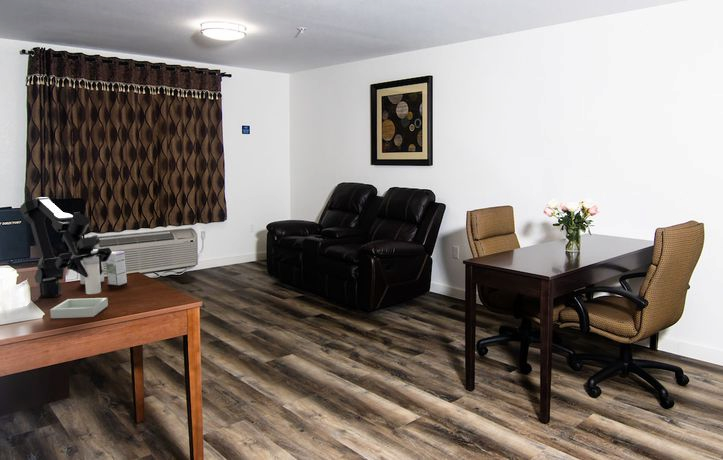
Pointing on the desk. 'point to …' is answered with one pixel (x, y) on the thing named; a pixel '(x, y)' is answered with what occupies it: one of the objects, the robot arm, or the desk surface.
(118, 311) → the desk surface
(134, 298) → the desk surface
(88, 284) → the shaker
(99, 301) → the tray
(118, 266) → the syrup box
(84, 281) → the skincare box
